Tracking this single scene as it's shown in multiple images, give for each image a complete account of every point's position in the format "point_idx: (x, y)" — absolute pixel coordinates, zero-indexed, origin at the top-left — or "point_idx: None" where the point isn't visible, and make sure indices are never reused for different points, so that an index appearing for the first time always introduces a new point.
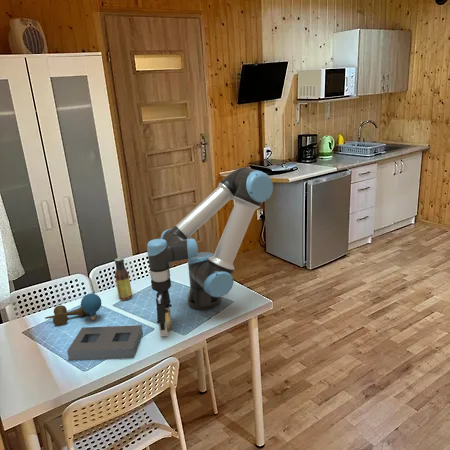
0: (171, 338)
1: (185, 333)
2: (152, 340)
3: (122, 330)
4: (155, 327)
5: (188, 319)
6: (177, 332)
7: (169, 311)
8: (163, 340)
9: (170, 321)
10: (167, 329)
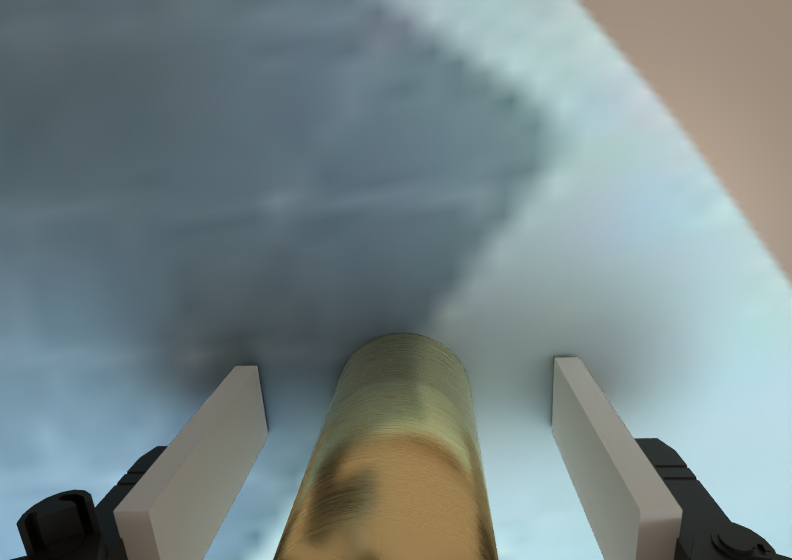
0: (621, 298)
1: (515, 130)
2: None
3: None
4: None
5: (149, 151)
6: (482, 247)
7: (369, 529)
8: (653, 384)
9: (412, 394)
10: (465, 385)
